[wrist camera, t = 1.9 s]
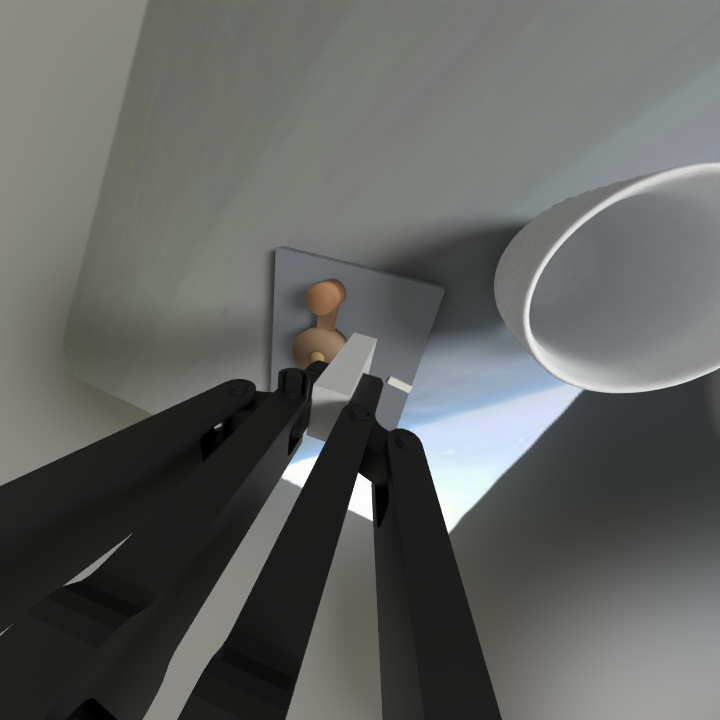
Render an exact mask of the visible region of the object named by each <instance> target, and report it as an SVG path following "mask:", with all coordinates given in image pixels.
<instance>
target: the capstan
mask: <svg viewBox="0 0 720 720" xmlns="http://www.w3.org/2000/svg"><path fill="white" fill-rule="evenodd" d="M345 297H346V290H345V287H344V285H343V284H342V283H341V282H340V281H339V280H337V279H328V280H326V281H323V282H321V283H319V284H316V285H314V286H312V287H310V288H309V289H308V291H307V292H306V296H305V301H306V304H307V307H308V308H309V309H310V311H312V312H313V313H314V314H317V315H318V321H317V325H314V326H311V327H310V328H308V329H307V330H305V331H304V332H303V333H302V334H300V335H299V336H298V337H297V338H296V340H295V342H294V344H293V348H292V354H293V359H294V362H295V364H296V366H297V367H298V368H299V369H302V370H305V369H306V368H307V367H308V365H309V364H310V363H312V362H315V361H317V360H320V361H323V362H326V363H331V362H332V360H333V359H334V358H335V356H336V355H337V354H338V353H339V351H340V350H341V349H342V348H343V346H344V345H345V344H346V342H347V339H346V338H345V336H344V335H343V334H342V333H341V332H340V331H339V330H337V329H336V328H335V326H336V320H337V314H338V307H339V305H340V304H341V303H342V302H343V301H344V299H345Z"/></svg>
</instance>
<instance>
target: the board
mask: <svg viewBox="0 0 720 720" xmlns="http://www.w3.org/2000/svg"><path fill="white" fill-rule="evenodd" d="M328 279H337V280H339V281H340V282H341V283H342V284H343V285H344V287H345V290H346V297H345V299H344V301H343V302H342V303H341V304H340V305H339V307H338V314H337V320H336V326H335V328H336V329H337V330H339V331H340V332H341V333H342V334H343V335H344V336H345V338H346V339H347V341H348V340H349V339H350V337H351V336H352V335H353V333H358V334H361V335H365V336H369V337H372V338H376V339H377V342H376V346H375V350H374V354H373V358H372V362H371V365H370V369H369V373H368V374H369V375H373V376H376V377H379V378H382V381H383V383H384V385H383V389H382V392H381V396H380V399H379V403H378V406H377V409H376V413H375V417H376V420H377V421H378V423H379V424H380V425H381V426H382V427H383V428H385V429H386V430H388V431H391V430H393V429H396V428H397V425H398V422H399V419H400V417H401V414H402V411H403V408H404V405H405V403H406V400H407V397H408V394H409V392H410V390H411V389H412V383H413V380H414V377H415V374H416V372H417V369H418V366H419V363H420V360H421V358H422V355H423V352H424V349H425V346H426V343H427V341H428V338H429V335H430V332H431V329H432V327H433V324H434V321H435V318H436V315H437V312H438V310H439V307H440V304H441V301H442V298H443V296H444V293H445V290H446V289H445V286H443V285H439V284H435V283H431V282H427V281H423V280H419V279H415V278H411V277H407V276H403V275H399V274H394V273H390V272H386V271H382V270H378V269H374V268H370V267H366V266H362V265H358V264H354V263H350V262H346V261H342V260H338V259H334V258H330V257H325V256H321V255H317V254H313V253H309V252H305V251H301V250H297V249H293V248H289V247H276V255H275V282H274V310H273V337H272V364H271V391H270V392H274V391H275V390H276V389H277V388H278V372H279V371H280V370H282V369H285V368H298V367H297V366H296V364H295V362H294V359H293V354H292V348H293V344H294V342H295V340H296V338H297V337H298V336H299V335H300V334H302V333H303V332H304V331H305V330H307V329H308V328H310V327H311V326H314V325H317V321H318V315H317V314H314V313H313V312H312V311H310V309H309V308H308V307H307V304H306V301H305V296H306V292H307V291H308V289H309V288H310V287H312V286H314V285H316V284H319V283H321V282H323V281H326V280H328Z"/></svg>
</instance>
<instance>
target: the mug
mask: <svg viewBox="0 0 720 720" xmlns="http://www.w3.org/2000/svg"><path fill="white" fill-rule="evenodd" d="M494 292H495V293H494V294H495V301H496V303H497V307H498V310H499V312H500V315H501V317H502V318H503V320H504V323H505V325H507V327H508V329H509V331H511V333H512V334H513V336H514V337H515V339H517V340H518V341H519V343H520V345H522V346H523V347H524V348H525V349H526V351H527V352H528V354H529V355H531V356H532V357H533V358H534V359H535V361H536V362H537V363H538V364H539V365H540V366H541V367H542V368H543V369H545V370H546V371H547V372H548V373H550V374H551V375H553V376H554V377H556V378H558V379H560V380H562V381H563V382H565V383H568V384H570V385H573V386H576V387H579V388H582V389H587V390H591V391H598V392H608V393H633V392H644V391H650V390H656V389H661V388H665V387H669V386H674V385H677V384H681V383H684V382H687V381H690V380H693V379H695V378H698V377H700V376H702V375H705V374H708V373H710V372H712V371H714V370H716V369H718V368H720V163H719V162H718V163H700V164H692V165H686V166H681V167H675V168H671V169H667V170H663V171H659V172H656V173H652V174H648V175H642V176H637V177H635V178H632V179H629V180H625V181H620V182H616V183H613V184H611V185H608V186H603V187H599V188H597V189H595V190H592V191H587V192H585V193H583V194H580V195H578V196H576V197H572V198H568V199H566V200H565V201H564V202H562V203H559V204H557V205H554V206H553V207H552V208H550V209H548V210H547V211H544V212H542V213H541V214H540V215H538V216H537V217H536V218H534V219H533V220H532V221H531V222H529V223H528V224H527V225H526V226H524V228H523V229H521V230H520V231H519V233H518V234H517V235H516V236H515V237H514V238H513V239H512V241H511V242H510V243H509V245H508V247H507V248H506V249H505V251H504V253H503V254H502V256H501V259H500V260H499V264H498V265H497V269H496V274H495V278H494Z"/></svg>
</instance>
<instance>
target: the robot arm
mask: <svg viewBox="0 0 720 720" xmlns="http://www.w3.org/2000/svg"><path fill="white" fill-rule="evenodd" d="M376 342H377V339H376V338H372V337H369V336H365V335H361V334H358V333H353V335H352V336H351V337H350V339H349V340H348V341H347V342H346V344H345V345H344V346H343V348H342V349H341V350H340V351H339V353H338V354H337V355H336V356H335V358H334V359H333V360H332V362H331V363H326V362H323V361H320V360H317V361H315V362H312V363H310V364H309V365H308V367H307V368H306V369H305V370H302V369H299V368H285V369H282V370H280V371H279V372H278V388H277V389H276V390H275V391H274V392H261V391H256V386H255V384H254V383H253V382H251V381H248V380H244V379H235V380H230V381H227V382H225V383H223V384H220V385H218V386H216V387H214V388H212V389H210V390H207V391H205V392H203V393H201V394H199V395H197V396H194V397H192V398H190V399H188V400H186V401H184V402H181V403H179V404H177V405H175V406H173V407H171V408H168V409H166V410H164V411H162V412H160V413H158V414H155V415H153V416H151V417H149V418H147V419H145V420H143V421H141V422H138V423H136V424H134V425H132V426H129V427H127V428H125V429H123V430H121V431H119V432H116V433H114V434H112V435H110V436H108V437H106V438H103V439H101V440H99V441H97V442H95V443H93V444H90V445H88V446H86V447H84V448H82V449H80V450H77V451H75V452H73V453H71V454H69V455H67V456H65V457H62V458H60V459H58V460H56V461H54V462H52V463H49V464H47V465H45V466H43V467H41V468H39V469H36V470H34V471H32V472H30V473H28V474H26V475H23V476H21V477H19V478H17V479H15V480H13V481H11V482H8V483H6V484H4V485H2V486H0V633H1V632H3V631H4V630H6V629H7V628H8V627H9V626H11V625H12V624H13V623H14V624H13V625H12V626H11V627H9V628H8V630H6V631H5V632H4V633H3V634H2V635H1V636H0V720H142V719H143V718H144V716H145V714H146V713H147V711H148V709H149V707H150V705H151V704H152V702H153V700H154V698H155V696H156V694H157V693H158V690H159V688H160V686H161V684H162V682H163V679H164V677H165V674H166V671H167V668H168V665H169V662H170V660H171V658H172V656H173V654H174V652H175V650H176V649H177V647H178V645H179V644H180V642H181V640H182V639H183V637H184V635H185V634H186V632H187V630H188V629H189V627H190V625H191V624H192V622H193V621H194V619H195V617H196V616H197V614H198V612H199V611H200V609H201V607H202V606H203V604H204V602H205V601H206V599H207V598H208V596H209V594H210V593H211V591H212V589H213V588H214V586H215V584H216V583H217V581H218V579H219V578H220V576H221V574H222V573H223V571H224V570H225V568H226V566H227V564H228V563H229V561H230V560H231V558H232V556H233V555H234V553H235V551H236V550H237V548H238V547H239V545H240V543H241V542H242V540H243V538H244V537H245V535H246V533H247V532H248V530H249V529H250V527H251V525H252V524H253V522H254V520H255V519H256V517H257V515H258V514H259V512H260V510H261V509H262V507H263V506H264V504H265V502H266V501H267V499H268V497H269V495H270V494H271V492H272V491H273V489H274V487H275V486H276V484H277V483H278V481H279V479H280V478H281V476H282V474H283V473H284V471H285V469H286V468H287V466H288V464H289V463H290V461H291V460H292V458H293V456H294V455H295V453H296V451H297V450H298V448H299V446H300V445H301V443H302V439H303V433H304V432H305V430H306V428H307V427H308V428H307V435H308V436H311V437H314V438H317V439H320V440H323V441H326V443H325V445H324V447H323V449H322V451H321V453H320V455H319V457H318V459H317V461H316V463H315V465H314V467H313V469H312V471H311V473H310V475H309V477H308V479H307V481H306V483H305V485H304V487H303V489H302V491H301V493H300V495H299V497H298V498H297V501H296V502H295V505H294V507H293V508H292V510H291V513H290V515H289V516H288V519H287V521H286V522H285V525H284V527H283V529H282V530H281V532H280V534H279V536H278V539H277V540H276V543H275V545H274V547H273V549H272V550H271V552H270V555H269V556H268V558H267V560H266V562H265V564H264V567H263V568H262V571H261V572H260V574H259V577H258V578H257V580H256V583H255V585H254V586H253V588H252V591H251V592H250V595H249V596H248V599H247V601H246V602H245V605H244V606H243V608H242V610H241V613H240V614H239V617H238V618H237V620H236V623H235V624H234V626H233V629H232V630H231V632H230V634H229V636H228V638H227V639H226V641H225V642H224V644H223V645H222V647H221V648H220V649H219V650H218V651H217V652H216V654H215V655H214V656H213V657H212V658H211V660H210V662H209V663H208V665H207V666H206V668H205V669H204V671H203V673H202V674H201V676H200V678H199V680H198V682H197V684H196V685H195V687H194V689H193V691H192V693H191V694H190V696H189V698H188V700H187V702H186V704H185V706H184V708H183V710H182V712H181V714H180V716H179V717H178V719H177V720H285V719H286V716H287V712H288V709H289V706H290V702H291V699H292V696H293V692H294V689H295V685H296V682H297V679H298V675H299V672H300V668H301V665H302V661H303V658H304V655H305V651H306V648H307V645H308V641H309V638H310V634H311V631H312V627H313V624H314V620H315V617H316V613H317V611H318V607H319V604H320V600H321V597H322V594H323V590H324V587H325V583H326V580H327V576H328V573H329V569H330V566H331V563H332V560H333V556H334V553H335V549H336V546H337V543H338V539H339V536H340V532H341V529H342V526H343V522H344V519H345V515H346V512H347V509H348V505H349V502H350V498H351V495H352V492H353V488H354V485H355V481H356V478H357V475H358V473H360V474H361V475H362V476H364V477H365V478H367V479H368V480H369V481H371V482H372V485H371V486H372V507H373V526H374V548H375V567H376V568H375V569H376V590H377V609H378V610H377V611H378V632H379V652H380V673H381V693H382V715H383V720H502V719H501V715H500V712H499V708H498V704H497V702H496V698H495V694H494V691H493V687H492V684H491V680H490V677H489V673H488V670H487V666H486V663H485V660H484V656H483V653H482V649H481V646H480V642H479V639H478V635H477V632H476V628H475V626H474V622H473V618H472V615H471V611H470V608H469V604H468V601H467V597H466V594H465V591H464V587H463V584H462V580H461V577H460V573H459V570H458V566H457V563H456V560H455V556H454V552H453V549H452V546H451V542H450V539H449V535H448V532H447V528H446V525H445V521H444V518H443V514H442V511H441V507H440V504H439V501H438V497H437V494H436V490H435V487H434V483H433V480H432V476H431V473H430V469H429V466H428V463H427V459H426V456H425V452H424V449H423V445H422V443H421V441H420V439H419V438H418V437H417V436H416V435H415V434H414V433H412V432H410V431H409V430H405V429H398V428H396V429H393V430H391V431H388V430H386V429H385V428H383V427H382V426H381V425H380V424H379V423H378V421H377V420H376V417H375V413H376V409H377V406H378V403H379V399H380V396H381V392H382V389H383V385H384V383H383V381H382V378H379V377H376V376H373V375H369V374H368V373H369V369H370V365H371V362H372V358H373V354H374V350H375V346H376ZM220 423H221V424H222V426H221V427H219V428H217V429H214V427H215V426H216V425H218V424H220ZM133 532H134V533H133ZM132 533H133V534H132ZM130 534H132V535H131V536H130V537H129V538H128V539H127V540H126V541H125V542H124V543H123V544H122V545H121V546H120V547H119V548H118V549H117V550H116V551H115V552H114V553H113V554H112V555H111V556H110V557H109V558H108V559H107V560H106V561H105V562H104V563H103V564H102V565H101V566H100V567H99V568H98V569H97V570H95V571H94V572H93V573H92V574H91V575H90V576H88V577H86V578H85V579H83V580H82V581H79V582H76V583H72V584H69V585H66V586H63V585H65V584H66V583H67V582H69V581H70V580H71V579H73V578H74V577H75V576H77V575H78V574H79V573H81V572H82V571H83V570H85V569H86V568H87V567H89V566H90V565H91V564H92V563H94V562H95V561H96V560H98V559H99V558H100V557H102V556H103V555H104V554H106V553H107V552H108V551H110V550H111V549H112V548H114V547H115V546H116V545H117V544H119V543H120V542H121V541H123V540H124V539H125V538H127V537H128V536H129V535H130Z"/></svg>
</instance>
